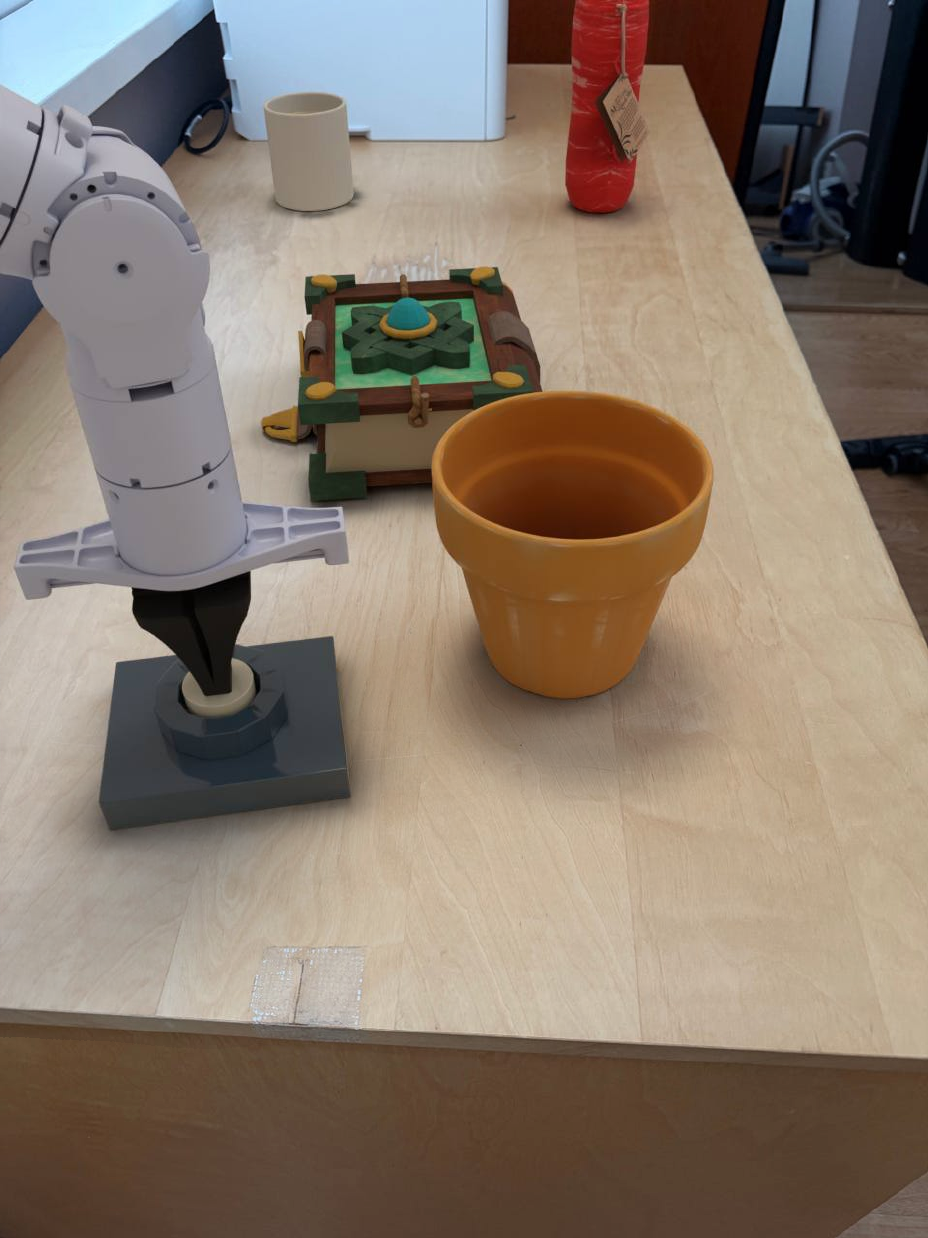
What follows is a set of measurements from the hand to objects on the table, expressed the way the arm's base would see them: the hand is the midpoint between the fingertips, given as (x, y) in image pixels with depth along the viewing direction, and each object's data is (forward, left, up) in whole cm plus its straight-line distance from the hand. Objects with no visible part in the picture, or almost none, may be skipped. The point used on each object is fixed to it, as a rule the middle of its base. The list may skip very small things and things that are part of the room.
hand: (218, 681), depth 53 cm
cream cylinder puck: (0, 0, -2) cm, 2 cm away
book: (+13, +34, -5) cm, 37 cm away
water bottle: (+40, +72, -5) cm, 82 cm away
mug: (+10, +83, -5) cm, 84 cm away
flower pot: (+19, +4, -5) cm, 20 cm away
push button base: (0, 0, -4) cm, 4 cm away
